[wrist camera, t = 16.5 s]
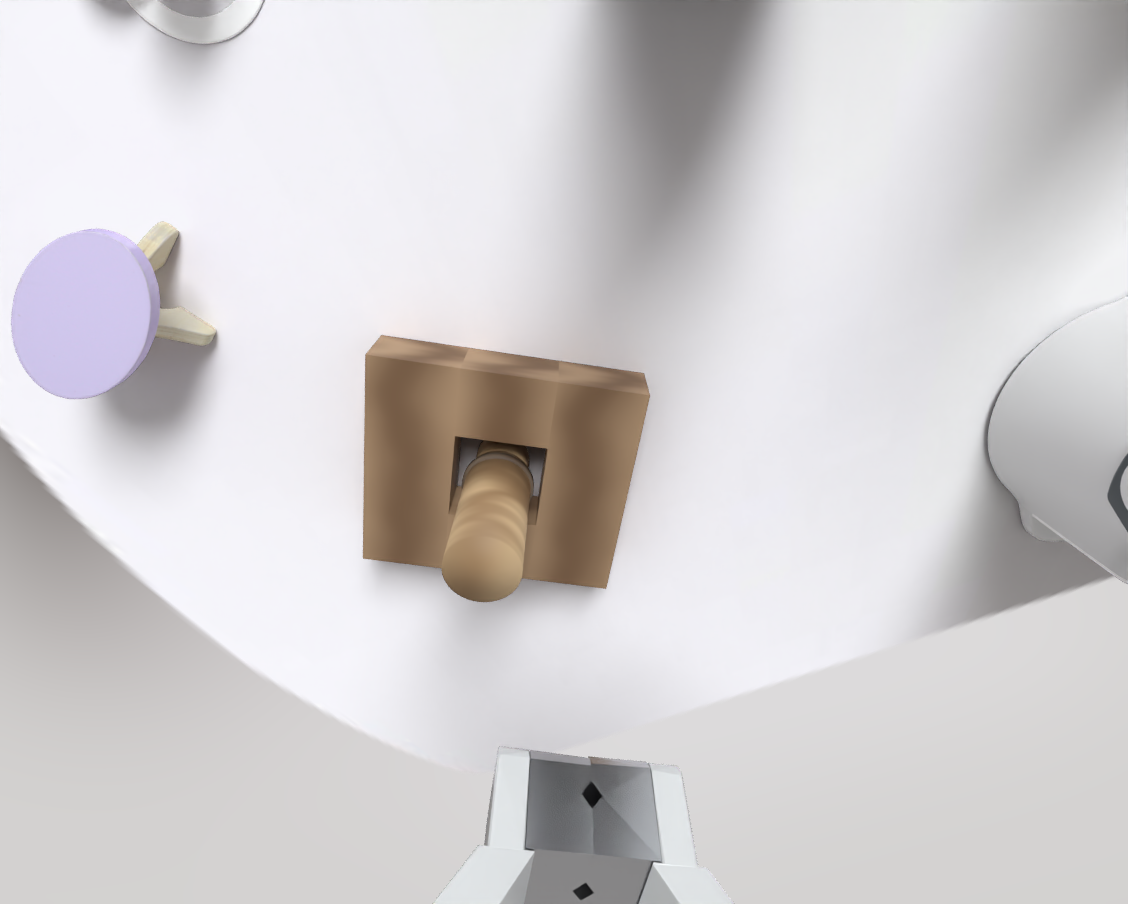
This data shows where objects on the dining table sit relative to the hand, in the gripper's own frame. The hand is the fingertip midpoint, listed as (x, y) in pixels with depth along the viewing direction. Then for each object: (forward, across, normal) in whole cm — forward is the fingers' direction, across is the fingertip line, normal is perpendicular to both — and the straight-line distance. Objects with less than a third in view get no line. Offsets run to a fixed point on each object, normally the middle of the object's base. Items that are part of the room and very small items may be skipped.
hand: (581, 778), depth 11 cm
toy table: (+32, +25, +4) cm, 40 cm away
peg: (+31, +3, +11) cm, 33 cm away
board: (+31, +3, +11) cm, 33 cm away
